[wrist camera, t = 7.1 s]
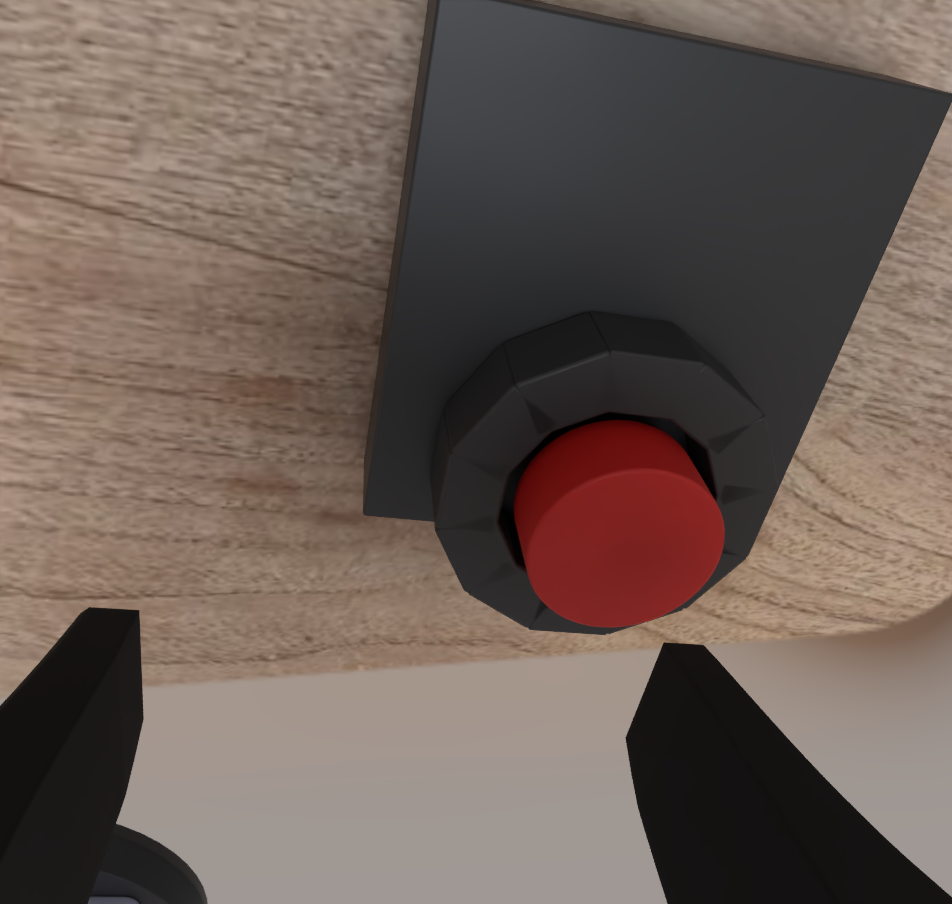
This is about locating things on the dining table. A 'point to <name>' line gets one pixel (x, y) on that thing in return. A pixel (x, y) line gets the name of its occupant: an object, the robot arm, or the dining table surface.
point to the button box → (621, 263)
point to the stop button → (616, 524)
